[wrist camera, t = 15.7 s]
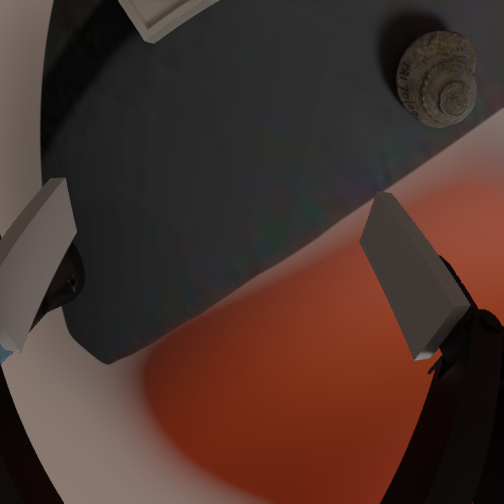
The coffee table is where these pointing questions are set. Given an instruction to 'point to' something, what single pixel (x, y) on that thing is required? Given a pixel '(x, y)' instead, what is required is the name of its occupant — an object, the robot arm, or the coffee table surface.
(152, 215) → the coffee table surface
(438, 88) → the fossilized seashell
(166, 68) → the coffee table surface
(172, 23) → the tray
